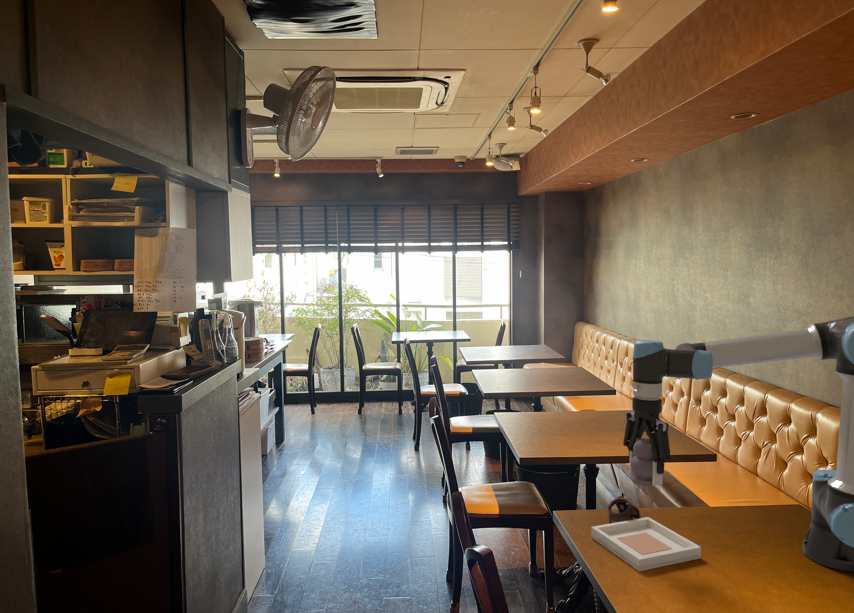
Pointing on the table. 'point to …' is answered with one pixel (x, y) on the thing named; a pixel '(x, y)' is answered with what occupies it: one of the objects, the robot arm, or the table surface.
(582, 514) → the table surface
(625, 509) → the pottery mug
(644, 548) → the tray
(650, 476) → the cat figurine
